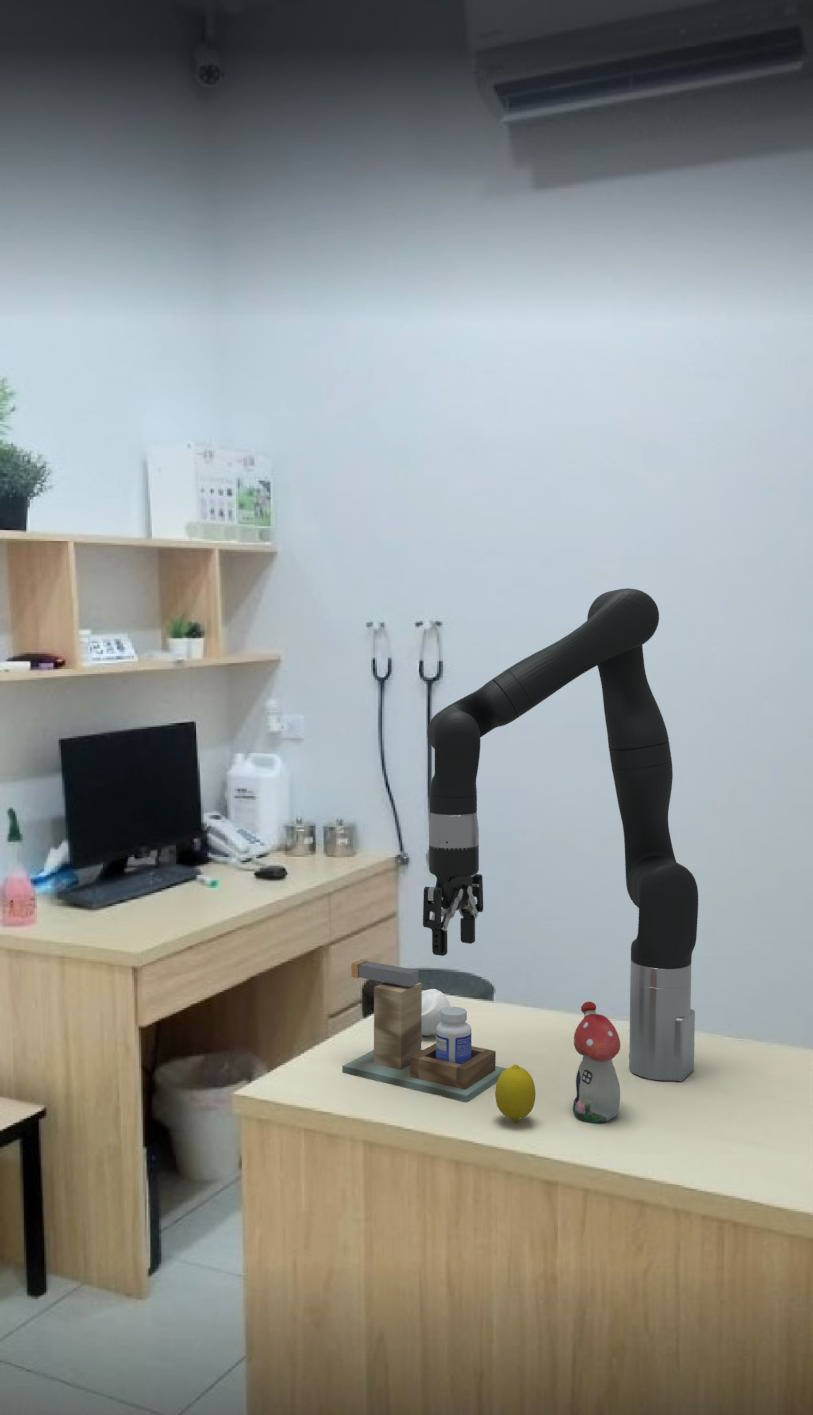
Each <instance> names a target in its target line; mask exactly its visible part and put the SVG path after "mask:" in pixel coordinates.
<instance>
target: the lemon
mask: <svg viewBox="0 0 813 1415" xmlns="http://www.w3.org/2000/svg"><path fill="white" fill-rule="evenodd" d="M506 1068H507V1069H505V1070H504V1071H503V1072H502V1073H501V1074H500V1076H499V1078H498V1080H497V1082H496V1083H495V1092H494V1094H495V1095H494V1096H495V1103H496V1105H497V1109H498V1110H499V1112H500V1113H501V1114H502V1115H503V1116H505V1117H506V1118H508V1119H510V1120H511V1121H512V1122H513V1123H518V1121H520V1120H522V1119H524V1118H525V1117H527V1116H528V1115H529V1114H530V1113H531V1112H532V1110H533V1108H534V1105H535V1102H536V1086H535V1082H534V1080H533V1077H532V1075H531V1073H529V1072H528V1070H526V1069H525V1068H523V1067H520V1066H519V1065H518V1064H513V1065H512V1066H509V1067H506Z"/></svg>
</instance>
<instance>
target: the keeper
mask: <svg viewBox="0 0 813 1415" xmlns="http://www.w3.org/2000/svg"><path fill="white" fill-rule="evenodd" d="M419 973H420V970H419V969H412V968H409V967H401V966H397V965H391V964H384V963H380V962H378V963H377V962H373V961H369V960H366V959H359V960H356V961H354V962H351V978H354V979H355V978H356V979H366V980H371V981H377V982H381V983H385V982H386V983H392V984H397V985H403V986H408V987H411V986H413V985H416V984H418V983H420V979H419V978H420V974H419Z"/></svg>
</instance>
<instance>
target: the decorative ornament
mask: <svg viewBox="0 0 813 1415" xmlns="http://www.w3.org/2000/svg"><path fill="white" fill-rule="evenodd" d="M596 1010H597V1004H595V1002H592V1001H585V1002H584V1003H582V1005H581V1007H580V1011H581V1012H582V1014H583V1015H584V1017H583V1018H582V1020H581V1021H580V1022H579V1023H578V1025H577V1027H576V1029H575V1031H574V1036H573V1046H574V1049H575V1050H576V1052H577V1053H578V1054H579V1055H581V1056H582V1059H581V1061H580V1064H579V1065H578V1068H577V1069H578V1070H577V1072H576V1078H575V1088H576V1097H575V1098H574V1100H573V1105H572V1111H573V1114H574V1115H575V1117H576V1118H578V1120H579V1119H580V1120H581V1121H584V1122H587V1123H595V1124H601V1123H602V1124H603V1123H607V1122H609V1121H610V1120H612V1119H613V1118H615V1117H616V1116H617V1113H618V1112H619V1108H620V1104H621V1103H620V1102H621V1087H620V1081H619V1077H618V1075H617V1072H616V1068H615V1066H614V1063H613V1059H614V1058H615V1057H616V1056H617V1055H618V1054H619V1052H620V1050H621V1040H620V1036H619V1034H618V1032H617V1029H616V1027H615V1026H614V1024H613V1023H612V1021H611V1020H610V1019H609V1018H608V1017H607V1016H605V1015H603V1014H599V1013H597V1012H596Z"/></svg>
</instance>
